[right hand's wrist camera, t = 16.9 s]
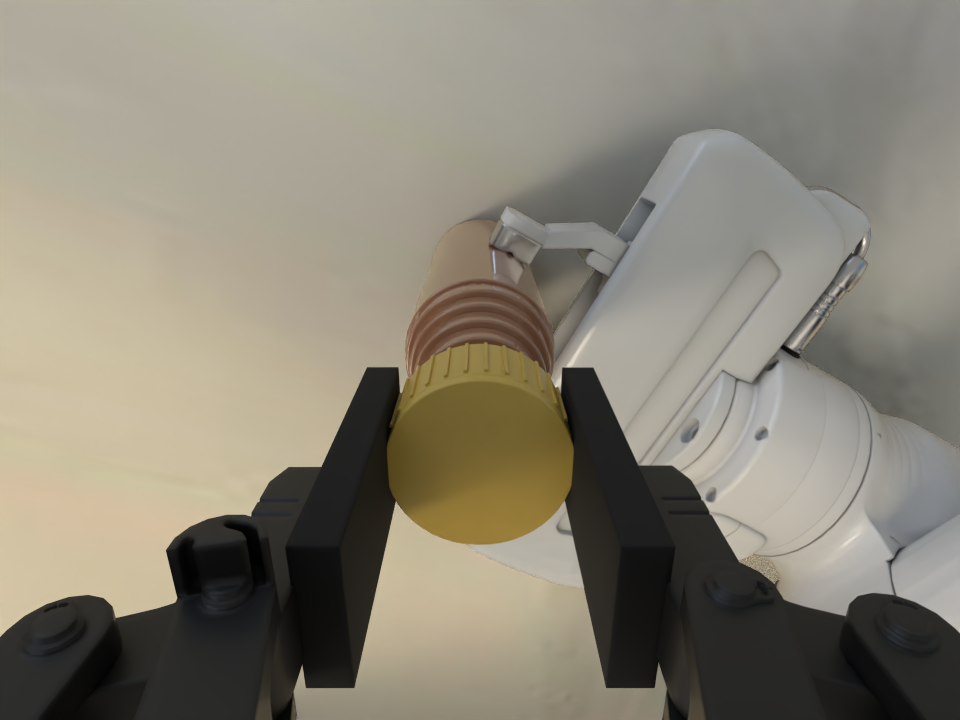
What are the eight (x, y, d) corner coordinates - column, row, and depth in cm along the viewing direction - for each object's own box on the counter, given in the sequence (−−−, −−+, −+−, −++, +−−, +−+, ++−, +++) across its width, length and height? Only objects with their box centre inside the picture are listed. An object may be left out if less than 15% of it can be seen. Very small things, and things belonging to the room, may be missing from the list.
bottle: (453, 324, 31) (422, 566, 14) (418, 239, 30) (334, 397, 13) (539, 293, 31) (614, 507, 14) (508, 204, 29) (549, 322, 12)
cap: (600, 408, 15) (619, 456, 13) (490, 518, 16) (492, 577, 14) (468, 305, 14) (465, 337, 12) (362, 429, 15) (342, 479, 13)
